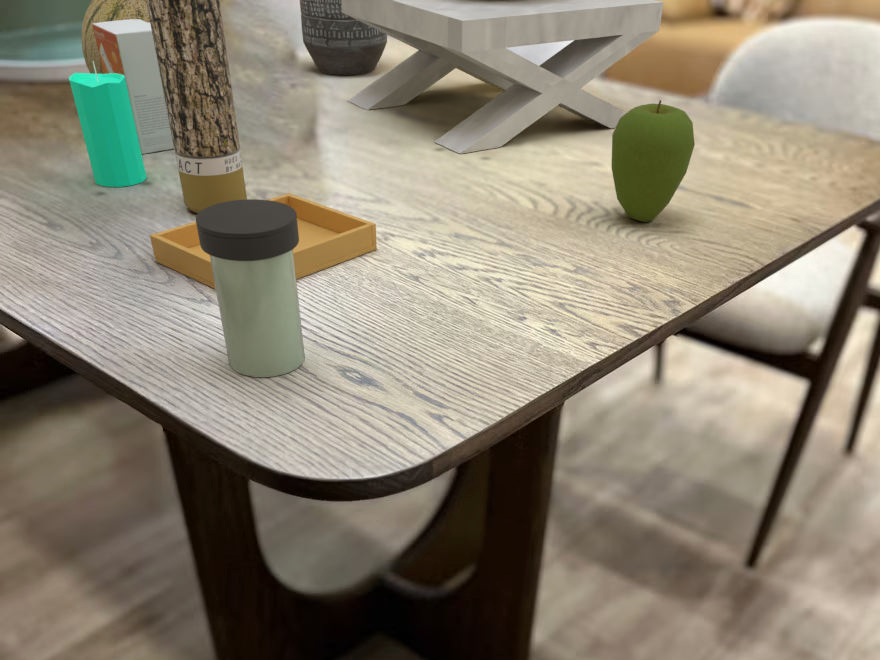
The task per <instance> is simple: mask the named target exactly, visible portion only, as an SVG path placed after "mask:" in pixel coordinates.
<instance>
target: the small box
mask: <svg viewBox="0 0 880 660" xmlns="http://www.w3.org/2000/svg"><path fill="white" fill-rule="evenodd" d="M92 26H93V31H94V35H95V39H96V43H97V47H98V52H99V56H100V61H101V65H102V69H103V74H109V73H117V74H122V75H124V76H125V80H126V84H127V89H128V94H129V98H130V103H131V108H132V112H133V117H134V121H135V126H136V131H137V135H138V140H139V145H140V149H141V154H142V155H146V154H152V153H157V152H162V151H163V152H164V151H168V150H174V146H173V140H172V135H171V130H170V124H169V119H168V114H167V109H166V103H165V98H164V93H163V87H162V82H161V77H160V72H159V66H158V61H157V56H156V50H155V45H154V40H153V35H152V29H151V24H150V23H148V22H145V21H143V20H140V19H129V20H117V21H108V22H100V23H93V24H92Z"/></svg>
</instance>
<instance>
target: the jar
mask: <svg viewBox="0 0 880 660" xmlns="http://www.w3.org/2000/svg"><path fill="white" fill-rule="evenodd" d="M210 259H211V265H212V271H213V276H214V282H215V287H216V289H215V292H216V299H217V303H218V310H219V314H220V319H221V320H220V321H221V326H222V331H223V338H224V343H225V349H226V354H227V355H226V356H227V361H228V365H229V367H230V368H231V369H232V371H234V372H236V373H238V374H240V375H243V376H247V377H252V378H273V377H278V376H283V375H287V374H288V373H291V372H293V371H295V370H297V369H299V368H300V367H301V366H302V365H303V363H304V362H305V358H306V355H305V346H304V338H303V329H302V319H301V311H300V301H299V293H298V283H297V279H296V273H295V264H294V255H293V249H292V250H291V251H289V252H287V253H285V254H282V255H279V256H276V257H272V258H267V259H260V260H248V261H238V260H227V259H221V258H217V257H214V256H211V255H210Z"/></svg>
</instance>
